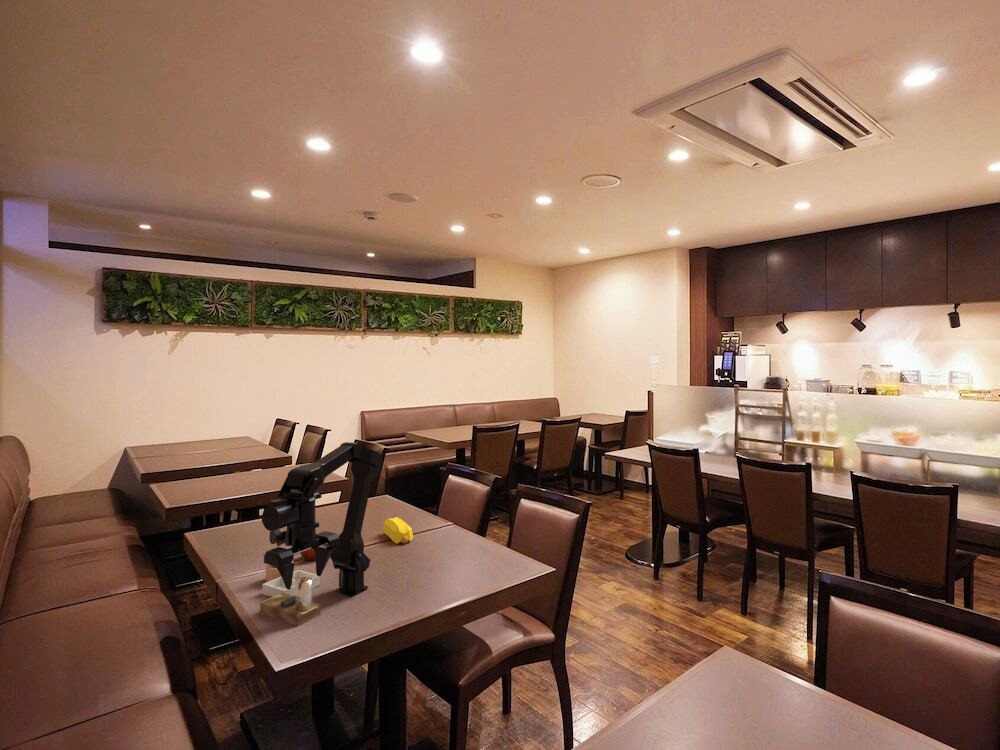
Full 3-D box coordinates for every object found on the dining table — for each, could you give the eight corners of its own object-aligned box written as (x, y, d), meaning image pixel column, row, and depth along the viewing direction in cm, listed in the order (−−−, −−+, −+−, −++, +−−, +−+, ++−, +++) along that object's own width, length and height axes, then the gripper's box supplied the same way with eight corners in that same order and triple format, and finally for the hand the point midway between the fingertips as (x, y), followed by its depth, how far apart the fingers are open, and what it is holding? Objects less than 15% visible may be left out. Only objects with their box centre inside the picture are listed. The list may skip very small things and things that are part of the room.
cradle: (321, 614, 134) (321, 600, 134) (298, 626, 128) (298, 611, 128) (282, 602, 141) (282, 588, 141) (259, 612, 135) (259, 598, 135)
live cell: (315, 606, 133) (315, 576, 132) (302, 613, 129) (302, 582, 129) (304, 603, 135) (304, 573, 134) (291, 609, 131) (291, 579, 131)
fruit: (293, 552, 176) (306, 530, 177) (315, 562, 178) (327, 540, 179) (293, 560, 168) (306, 537, 169) (315, 570, 170) (329, 547, 172)
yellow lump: (395, 547, 185) (416, 543, 189) (395, 528, 185) (416, 525, 189) (380, 533, 201) (399, 530, 205) (380, 515, 201) (399, 513, 205)
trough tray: (320, 585, 152) (319, 575, 152) (284, 601, 142) (284, 590, 142) (298, 579, 156) (298, 569, 156) (262, 594, 146) (262, 584, 146)
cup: (298, 578, 157) (298, 562, 157) (277, 586, 151) (277, 570, 151) (282, 573, 161) (282, 558, 161) (261, 581, 155) (261, 565, 155)
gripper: (311, 506, 144) (311, 564, 144) (248, 524, 128) (249, 589, 128) (340, 512, 138) (341, 572, 138) (279, 531, 122) (279, 599, 122)
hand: (304, 582), depth 132 cm, fingers open, 9 cm apart
